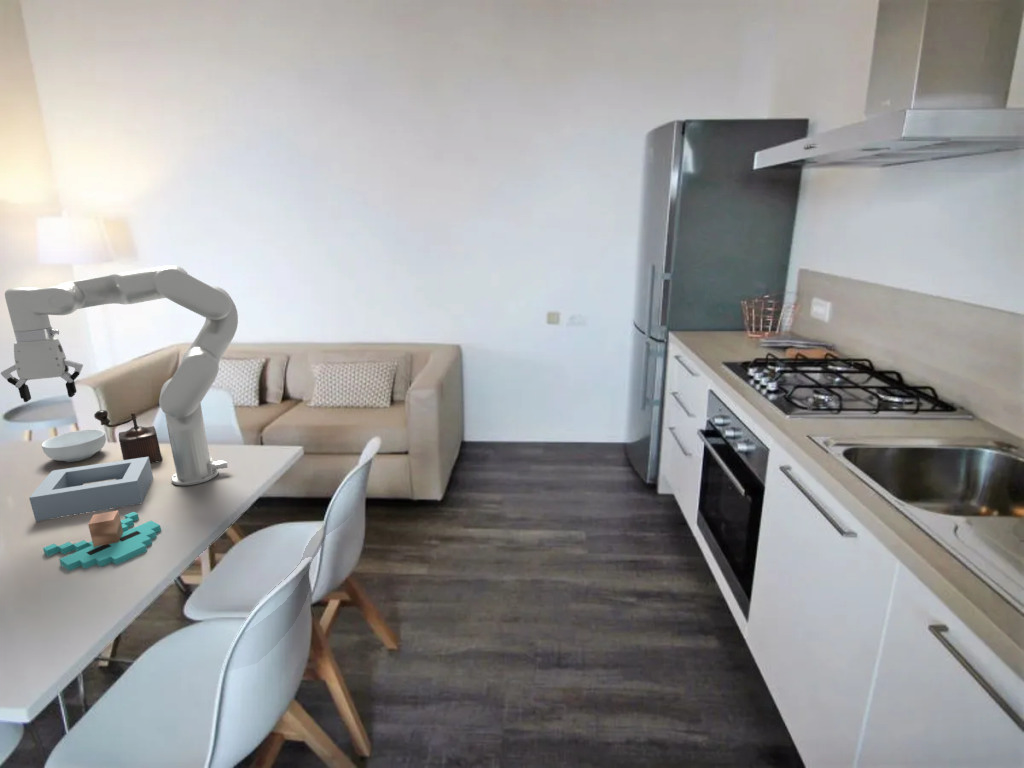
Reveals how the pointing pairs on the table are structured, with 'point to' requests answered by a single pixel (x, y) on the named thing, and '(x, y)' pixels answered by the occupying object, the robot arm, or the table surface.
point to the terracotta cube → (105, 528)
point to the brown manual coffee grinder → (134, 439)
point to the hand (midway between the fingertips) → (50, 398)
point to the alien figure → (108, 546)
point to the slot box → (92, 488)
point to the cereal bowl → (74, 445)
